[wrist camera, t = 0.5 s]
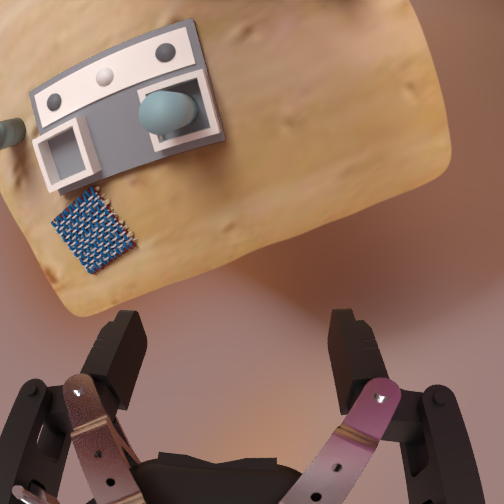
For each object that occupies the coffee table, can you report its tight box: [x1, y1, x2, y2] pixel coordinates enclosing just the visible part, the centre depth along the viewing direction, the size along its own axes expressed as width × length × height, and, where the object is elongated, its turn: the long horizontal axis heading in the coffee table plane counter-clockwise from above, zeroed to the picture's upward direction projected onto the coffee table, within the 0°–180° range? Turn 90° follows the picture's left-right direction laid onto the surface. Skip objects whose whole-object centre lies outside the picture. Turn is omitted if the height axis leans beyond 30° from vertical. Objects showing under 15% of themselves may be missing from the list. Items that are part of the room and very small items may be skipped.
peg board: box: [29, 18, 226, 196], centre depth 29 cm, size 16×24×11 cm, turn 103°
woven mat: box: [51, 186, 138, 274], centre depth 41 cm, size 10×11×2 cm
